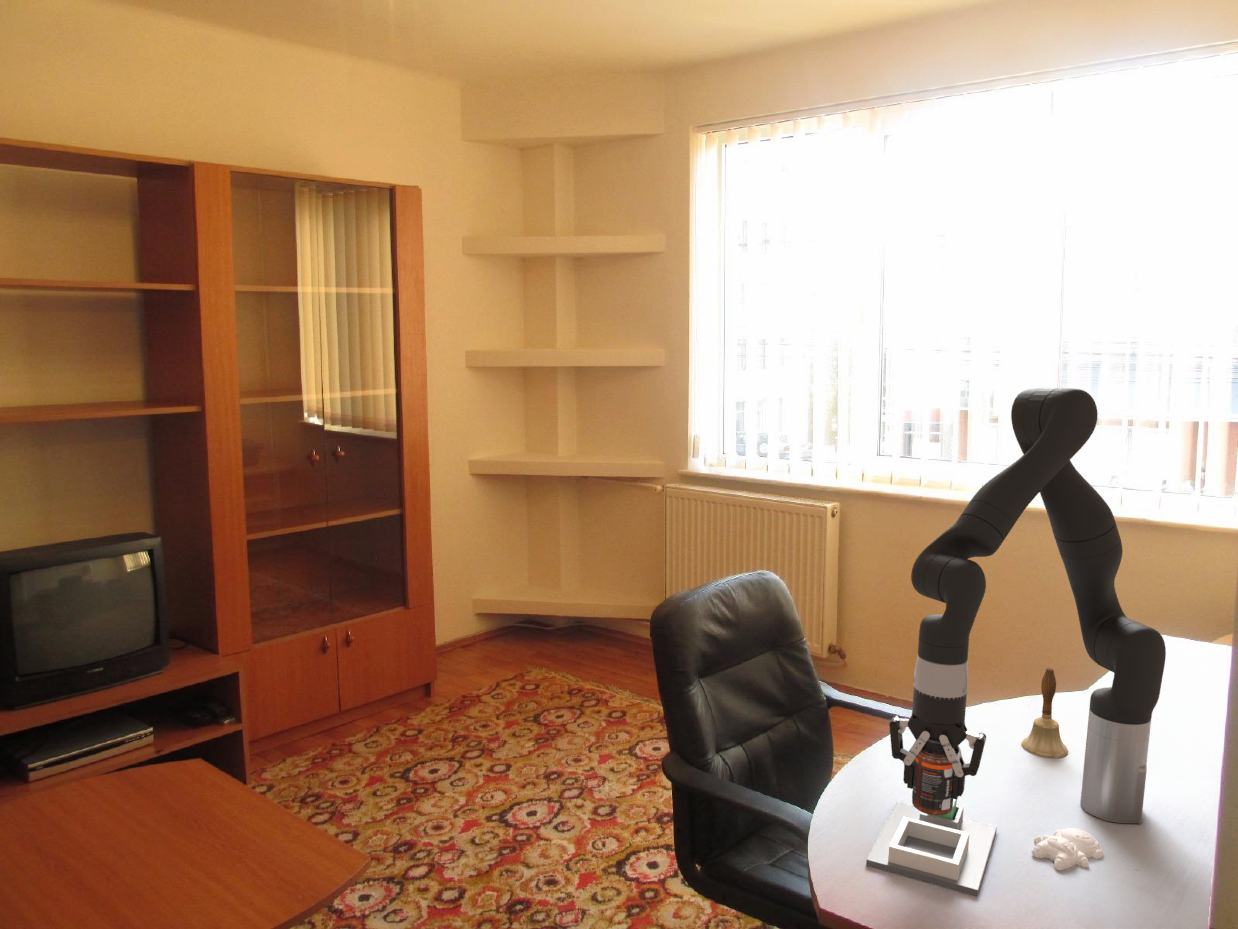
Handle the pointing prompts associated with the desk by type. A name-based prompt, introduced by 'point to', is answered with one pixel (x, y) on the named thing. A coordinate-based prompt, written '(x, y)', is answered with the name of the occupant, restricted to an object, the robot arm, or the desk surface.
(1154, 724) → the desk surface
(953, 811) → the button
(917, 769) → the supplement bottle
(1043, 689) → the hand bell
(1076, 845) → the astronaut figurine
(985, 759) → the desk surface
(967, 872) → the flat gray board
